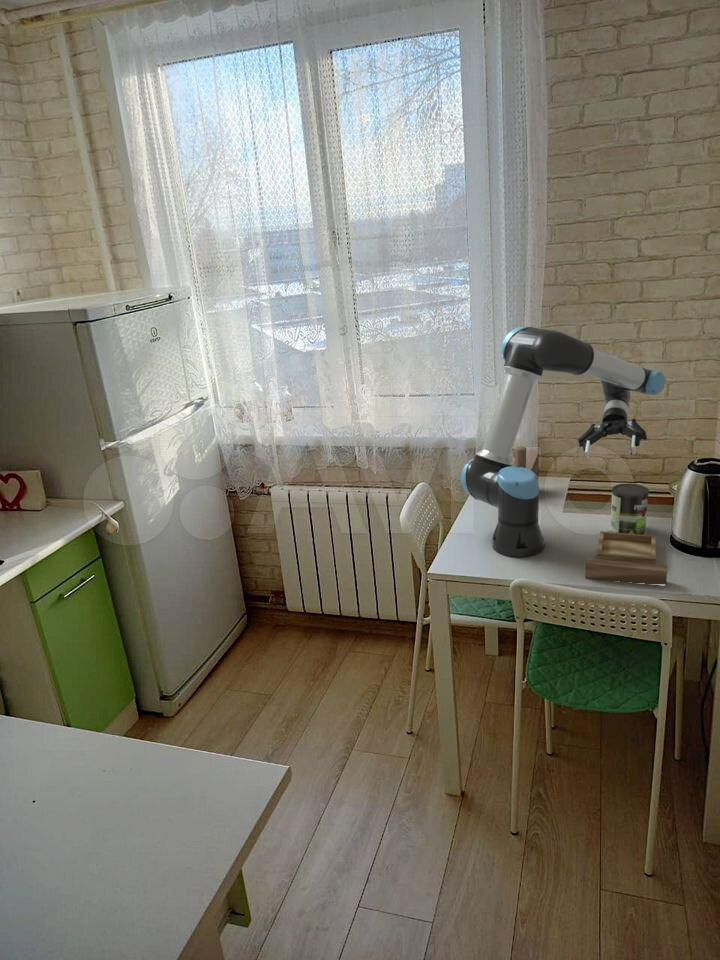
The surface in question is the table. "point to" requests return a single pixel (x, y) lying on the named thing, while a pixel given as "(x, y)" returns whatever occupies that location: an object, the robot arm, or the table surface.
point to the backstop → (625, 571)
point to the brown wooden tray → (627, 547)
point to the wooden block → (531, 460)
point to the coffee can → (629, 509)
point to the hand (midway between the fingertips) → (609, 453)
